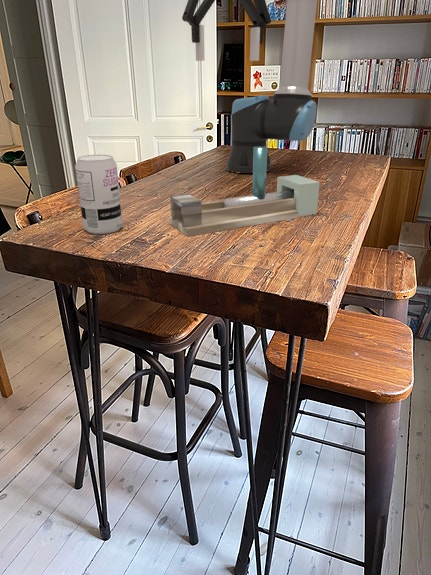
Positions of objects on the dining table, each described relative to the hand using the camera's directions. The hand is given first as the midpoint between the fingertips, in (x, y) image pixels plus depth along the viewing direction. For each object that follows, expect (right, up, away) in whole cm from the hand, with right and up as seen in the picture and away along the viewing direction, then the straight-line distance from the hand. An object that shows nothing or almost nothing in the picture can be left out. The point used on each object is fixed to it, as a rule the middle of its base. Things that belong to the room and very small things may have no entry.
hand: (228, 60), depth 99 cm
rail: (+2, -35, +3) cm, 35 cm away
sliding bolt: (+8, -32, +5) cm, 33 cm away
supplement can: (-27, -37, -2) cm, 46 cm away
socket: (+17, -31, +10) cm, 37 cm away
